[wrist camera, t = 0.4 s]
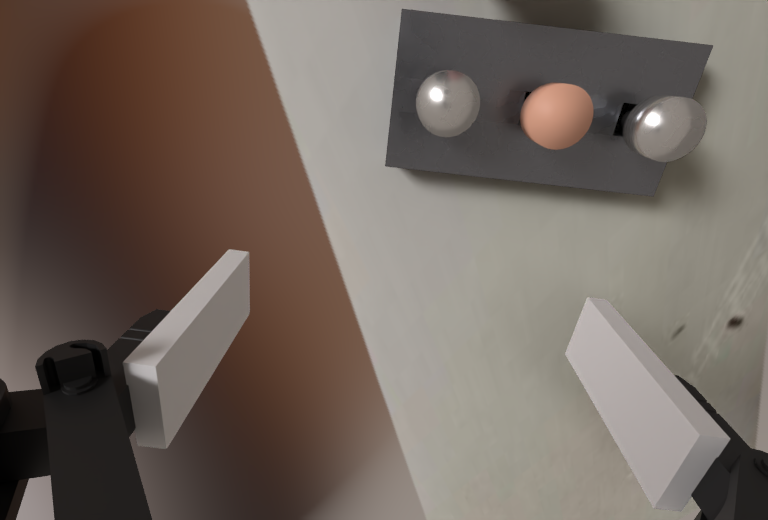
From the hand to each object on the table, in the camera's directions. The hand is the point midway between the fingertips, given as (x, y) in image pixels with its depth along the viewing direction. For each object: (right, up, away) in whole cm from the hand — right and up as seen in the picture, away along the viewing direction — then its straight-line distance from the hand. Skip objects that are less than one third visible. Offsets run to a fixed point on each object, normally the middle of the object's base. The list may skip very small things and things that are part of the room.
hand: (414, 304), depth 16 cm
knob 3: (+19, +13, +18) cm, 30 cm away
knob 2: (+12, +14, +18) cm, 26 cm away
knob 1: (+4, +15, +18) cm, 24 cm away
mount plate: (+12, +16, +22) cm, 29 cm away
